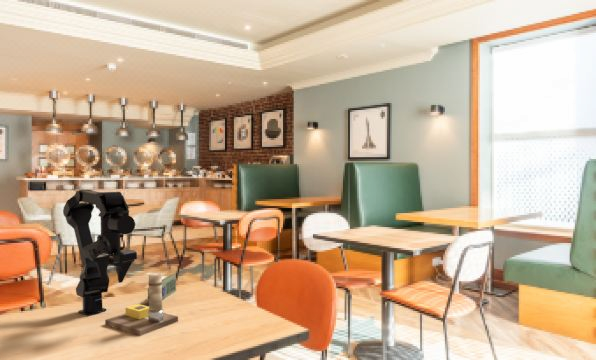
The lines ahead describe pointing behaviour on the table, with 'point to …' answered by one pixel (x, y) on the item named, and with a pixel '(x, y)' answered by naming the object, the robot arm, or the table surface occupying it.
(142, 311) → the block
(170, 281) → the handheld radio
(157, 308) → the beige ringed cylinder
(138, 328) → the subfloor panel
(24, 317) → the table surface
